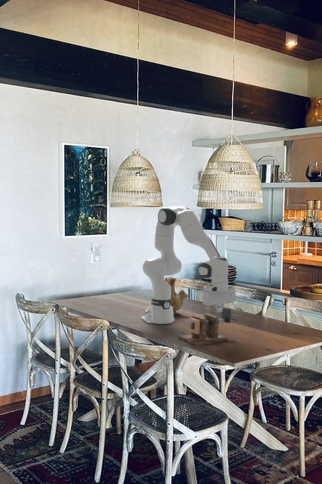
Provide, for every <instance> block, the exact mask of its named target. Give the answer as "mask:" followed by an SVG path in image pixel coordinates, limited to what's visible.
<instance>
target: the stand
mask: <svg viewBox="0 0 322 484" xmlns="http://www.w3.org/2000/svg"><path fill="white" fill-rule="evenodd" d="M203 315H204V317H202V316H199V315H197V314H193V315H191V318H195V319H198V320H200V334H195V333H192V332H191V334H189V333H188V334H183V335H182V334H181V335H178V336H179V337H178V338H179V339H180V340H181V339H182V341H184V342H186V343H189V344H191V345H193V346H204V345H209V344H210V345H212V344H217V343H223V342H228V340H229V339H228V337H226V336H223V335H219V324H220V323H219V319H220V318H219V316H215V315H213V314H210V313H204V314H203ZM206 320H211V325H206ZM194 328H195V327H194Z"/></svg>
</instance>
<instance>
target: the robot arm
mask: <svg viewBox="0 0 322 484" xmlns="http://www.w3.org/2000/svg"><path fill="white" fill-rule="evenodd" d="M176 226H179V227H180V230H181V233H182V235H183V237H184V240H186V242H188V243H189V244H192V245H194V246H197V247H200V248H202V249H203V251H204V252H205V253H206V255H207V257H208V259H209V260H205V261H202V262H200V263H199V264H198V266H197V274H198V276H199V278H201V279H203V280H204V279H205V280H209V279H210V280H211V282H210V283H208V284H207V285H206V284H205V285H204V286H203V293H202V304H203V305H204V306H208V307H209V306H214V308H215V313H222V309H223V307H225V304H234V303H236V300H237V299H236V288H235V286H234V285H229V279H228V275H229V261H228V259H227V257H224V256H221V255H220V254H219V251H218V249H217V248H216V245H215V244H214V242H213V240H212V239H211V238H210V236H209V235H207V233H206V232H205V230H204V229H203V226H202V225H201V223H200V221H199V219H198V216H197V215H196V214H195V212H194V211H193V210H192V209H190V208H189V207H187V206H179V205H178V206H177V205H176V206H175V205H174V206H165V207H162V208H160V209H159V210H158V213H157V221H156V227H155V235H154V248H155V249H156V250H157V251H158V252H160V254H161V255H160V256H161V257H152V258H149V259H146V260H145V261H143V264H142V271H143V273H144V275H146V277H148V278H149V279H150V280H149V281H150V282H151V285H152V298H150V301H151V302H150V304H149V305H148V306H147V307H146V308H145V311H144V315H142V316H140V318H141V320H143V321H145V322H146V323H148V324H159V325H165V324H166V325H167V324H171V323H173V322H174V321H175V320H176V318H175V317H174V315H173V307H172V306H171V304H172V299H171V286H170V284H169V283H167V282H165V276H173V275H177V274H179V273H180V272H181V271H182V268H183V267H182V261H181V260H180V259H179V258H178V257H177V255H176V253H175V250H174V239H175V238H174V237H175V236H174V235H175V228H176Z"/></svg>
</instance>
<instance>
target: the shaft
mask: <svg viewBox="0 0 322 484" xmlns="http://www.w3.org/2000/svg"><path fill="white" fill-rule="evenodd" d="M231 320H232V309H231V308H228V307H225V306H224V307H223V309H222V312H221V317H220V318H219V324H223V323H227V324H231V322H232V321H231ZM206 325H211V320H206ZM187 326H188V328H189V327H195V323H193V322H189V321H188V325H187Z"/></svg>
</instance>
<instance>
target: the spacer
mask: <svg viewBox="0 0 322 484" xmlns="http://www.w3.org/2000/svg"><path fill="white" fill-rule="evenodd" d="M189 322H193V323H195V328H194V327H189V326H188V331H189V332H190V333H191V334H192V333H195V334H200V320H198V319H195V318H192V317H188V323H189Z"/></svg>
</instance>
